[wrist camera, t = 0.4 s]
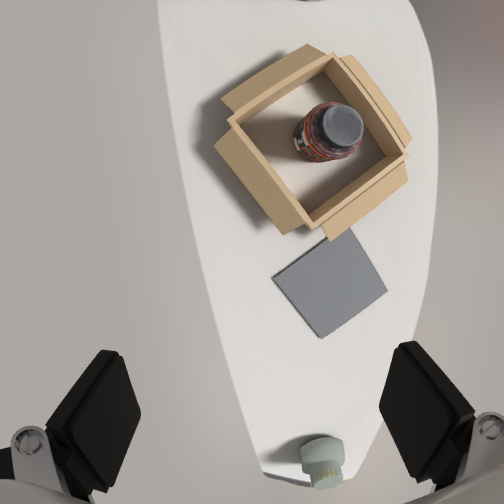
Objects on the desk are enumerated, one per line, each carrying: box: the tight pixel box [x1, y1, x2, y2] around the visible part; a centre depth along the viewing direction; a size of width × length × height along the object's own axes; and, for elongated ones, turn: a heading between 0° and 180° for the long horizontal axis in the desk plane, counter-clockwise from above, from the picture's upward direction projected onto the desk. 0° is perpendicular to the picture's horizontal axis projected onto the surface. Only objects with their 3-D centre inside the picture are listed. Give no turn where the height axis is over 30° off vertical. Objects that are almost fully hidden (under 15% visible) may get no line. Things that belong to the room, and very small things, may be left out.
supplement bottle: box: [293, 102, 364, 163], centre depth 28 cm, size 6×6×11 cm
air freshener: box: [299, 437, 345, 490], centre depth 42 cm, size 11×8×10 cm
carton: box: [213, 44, 412, 242], centre depth 31 cm, size 21×21×5 cm
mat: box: [273, 227, 388, 339], centre depth 38 cm, size 12×12×1 cm
